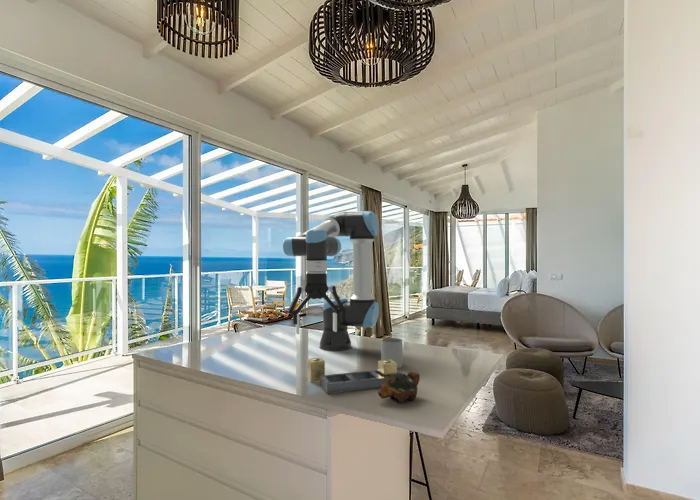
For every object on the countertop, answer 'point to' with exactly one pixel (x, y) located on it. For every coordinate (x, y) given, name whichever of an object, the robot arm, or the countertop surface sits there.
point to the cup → (392, 350)
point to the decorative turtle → (400, 386)
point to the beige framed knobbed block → (387, 368)
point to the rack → (352, 381)
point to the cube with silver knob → (315, 369)
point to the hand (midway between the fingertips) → (316, 332)
